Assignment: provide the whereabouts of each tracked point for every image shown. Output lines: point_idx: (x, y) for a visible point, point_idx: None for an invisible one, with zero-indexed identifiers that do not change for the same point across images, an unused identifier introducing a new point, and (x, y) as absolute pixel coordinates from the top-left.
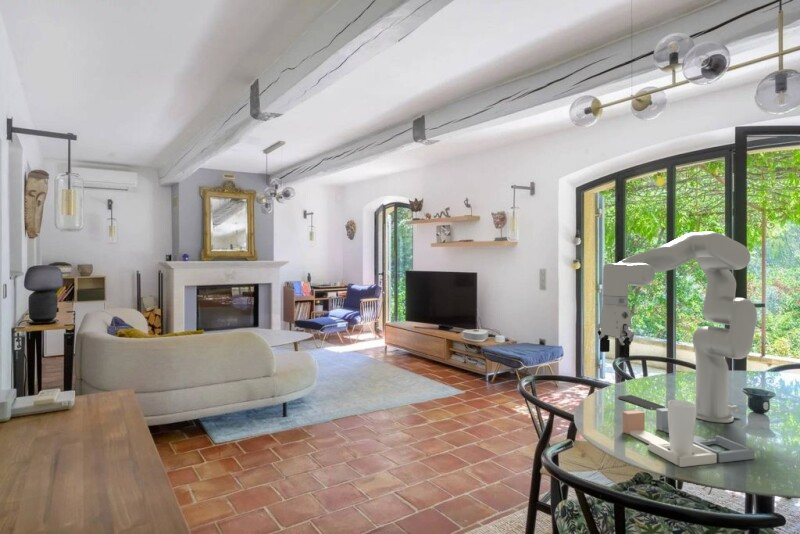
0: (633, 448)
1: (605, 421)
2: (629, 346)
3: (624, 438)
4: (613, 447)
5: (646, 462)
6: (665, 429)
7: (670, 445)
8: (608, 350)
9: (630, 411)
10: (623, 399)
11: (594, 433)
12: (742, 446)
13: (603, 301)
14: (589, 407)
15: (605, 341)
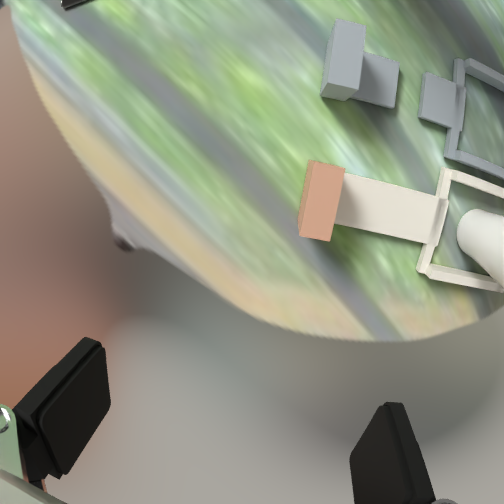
0: (392, 290)
1: (199, 189)
2: (429, 481)
3: (336, 255)
4: (363, 328)
5: (446, 325)
6: (355, 97)
7: (471, 257)
8: (100, 359)
9: (311, 207)
10: (79, 2)
11: (270, 300)
12: None
13: None
14: (83, 139)
15: (61, 447)
